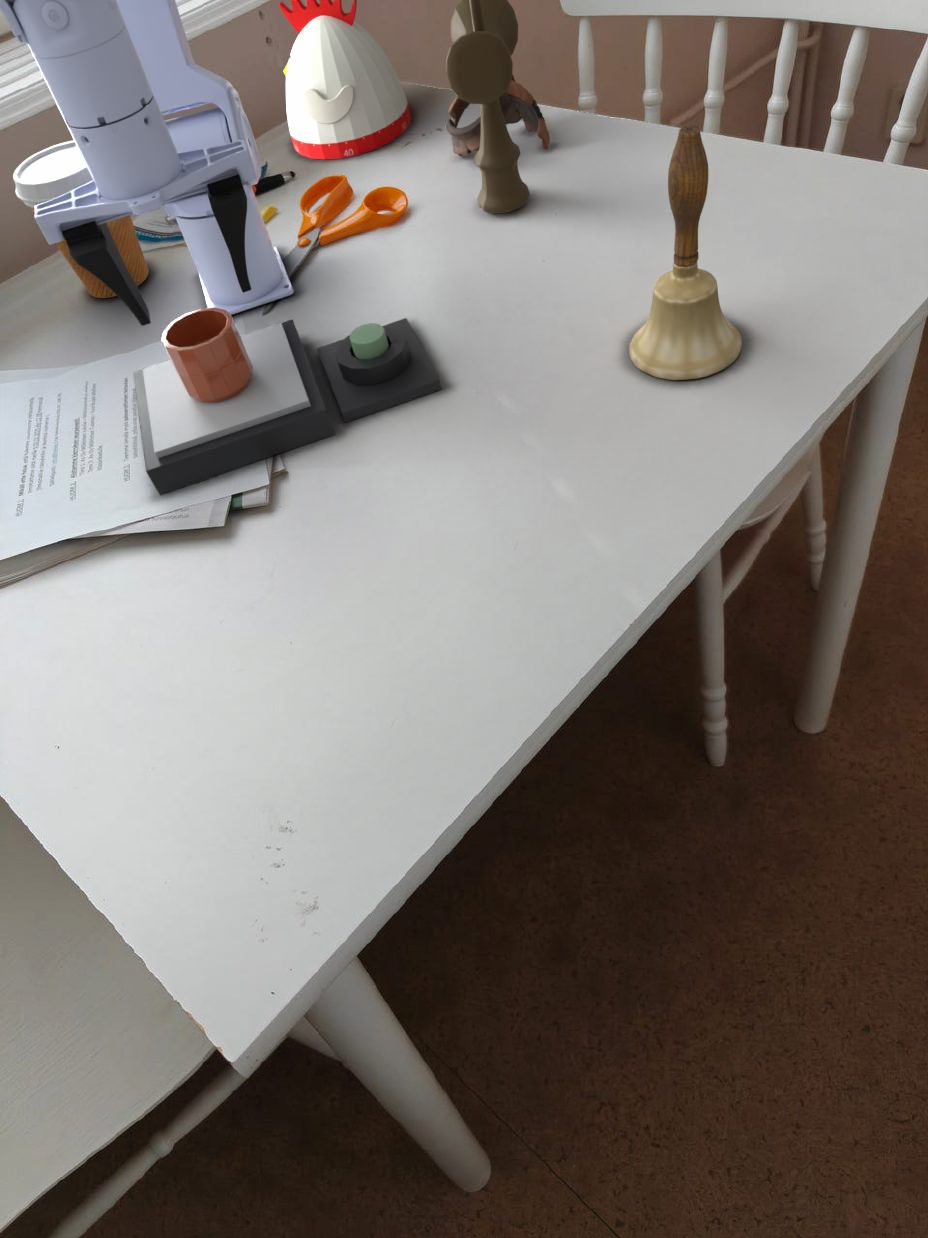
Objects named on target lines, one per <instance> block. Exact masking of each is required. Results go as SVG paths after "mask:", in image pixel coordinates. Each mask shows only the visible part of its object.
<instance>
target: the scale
mask: <svg viewBox="0 0 928 1238" xmlns="http://www.w3.org/2000/svg"><path fill="white" fill-rule="evenodd" d="M240 337H241V339H242V342H243V344H244V347H245V349H246V352H247V354H248V356H249V359H250V361H251V364H252V366H253V369H252V376H251V378H250V381H249V383H248V385H247V386H246V387H245V388H244V389H243V390H242V391H241V392H240V393H238V394H237V395H235V396H233V397H231V398H229V399H226V400H223V401H219V402H211V403H209V402H202V401H199V400H198V399H196V398H193V397H190V396H189V395H188V393H187V392H186V390H185V388H184V386H183V384H182V382H181V380H180V378H179V376H178V374H177V372H176V370H175V368H174V366H173V364H172V362H171V360H170V358H169V359H167V360H164V361H161V362H158V363H155V364H152V365H149V366H146V367H142V369H139V370H136V371H133V374H132V375H133V380H134V387H135V388H134V389H135V396H136V404H137V405H136V406H137V413H138V419H139V428H140V434H141V442H142V450H143V457H144V465H145V472H146V474H147V476H148V477H149V479H150V481H151V483H152V484H153V486H154V488H155V489H156V491H157V493H158V495H160V496H161V495H164V494H167V493H170V492H173V491H176V490H178V489H181V488H183V487H187V486H189V485H192V484H195V483H199V482H201V481H204V480H207V479H210V478H212V477H216V476H219V475H222V474H224V473H227V472H231V471H233V470H235V469H238V468H239V469H240V468H242V467H245V466H247V465H250V464H253V463H257V462H259V461H262V460H265V459H268V458H271V457H274V456H277V455H279V454H282V453H285V452H286V453H287V452H289V451H291V450H294V449H297V448H300V447H303V446H306V445H309V444H311V443H314V442H317V441H320V440H323V439H325V438H329V437H331V436H334V435H336V432H335V429H334V427H333V424H332V420H331V418H330V415H329V412H328V410H327V407H326V405H325V401H324V399H323V396H322V394H321V391H320V388H319V386H318V383H317V379H316V377H315V375H314V371H313V370H312V367H311V365H310V364H311V363H310V362H309V359H308V357H307V356H308V355H307V353H306V350H305V348H304V345H303V342H302V340H301V337H300V335H299V332H298V330H297V327H296V323H295V321H294V319H293V318H291V319H288V320H285V321H283V322H282V321H281V322H277V323H274V324H272V325H269V326H265V327H262V328H259V329H257V330H253V331H250V332H247V333H244V334H240Z"/></svg>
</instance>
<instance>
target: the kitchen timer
mask: <svg viewBox="0 0 928 1238" xmlns="http://www.w3.org/2000/svg"><path fill="white" fill-rule="evenodd" d="M305 1H306V2H305V3H306V6H305V5H304V3H302V0H290V4H291V7H292V9H290V8H289V7H288V6H287V4H285V3H284V2H283V1H280V2H279V4H278V6H279V9H280V11H281V12H282V14H283V16H284V17H285V18H286V20H287V21H288V22H289V24H290V25H291V26H292V27H293V29H294V30H295V31H296V33H297V34H298V35H297V37H296V39H295V41H294V43H293V45H292V49H291V51H290V54H289V58H288V61H287V63H286V65H285V67H284V68H283V72H282V73H283V74H284V76H285V104H286V105H285V106H286V109H285V110H286V117H287V124H288V130H289V134H290V139H291V141H292V145H293V148H294V150H295V151H296V152H297V153H298V154H299V155H300V156H302V157H303V156H304V157H306V158H309V159H313V160H314V159H315V160H336V159H345V158H350V157H354V156H359V155H362V154H366V153H368V152H372V151H374V150H377V149H379V148H381V147H383V146H385V145H387V144H389V143H391V142H393V141H395V140H396V139H397V138H398V137H400V136H401V135H402V134H403V133H404V132H405V131H406V130H407V129H408V127H409V126H410V122H411V119H412V117H411V112H410V107H409V102H408V100H407V97H406V94H405V91H404V89H403V85H402V83H401V82H400V80H399V77H398V75H397V73H396V71H395V69H394V67H393V65H392V64H391V62H390V59H389V58H388V56H387V55H386V53H385V51H384V50H383V48H382V46H381V45H380V44H379V43H378V42H377V41H376V39H375V38H374V37H373V36H372V35H371V34H370V32H368V31H367V30H366V29H365V28H364V27H363V26H361V25H360V24H358V23H357V22H356V21H355V18H356V13H357V4H358V3H357V2H358V1H357V0H353V2H352V4H351V8H350V10H349V12H346V13H345V11H344V9H343V4H342V0H333V1H332V0H319V2H318V0H305Z"/></svg>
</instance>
